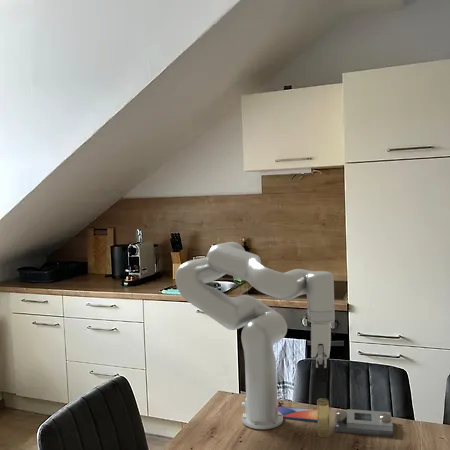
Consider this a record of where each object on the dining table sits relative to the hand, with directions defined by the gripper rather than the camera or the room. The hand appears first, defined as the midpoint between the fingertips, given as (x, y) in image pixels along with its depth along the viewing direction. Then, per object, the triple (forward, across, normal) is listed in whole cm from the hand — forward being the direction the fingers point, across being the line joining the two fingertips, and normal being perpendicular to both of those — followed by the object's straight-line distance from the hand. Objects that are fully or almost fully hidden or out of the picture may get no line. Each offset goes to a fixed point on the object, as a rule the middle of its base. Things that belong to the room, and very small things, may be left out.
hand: (322, 375), depth 140 cm
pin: (+17, 0, 0) cm, 17 cm away
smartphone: (+18, -12, -9) cm, 23 cm away
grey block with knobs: (+17, -7, +11) cm, 22 cm away
